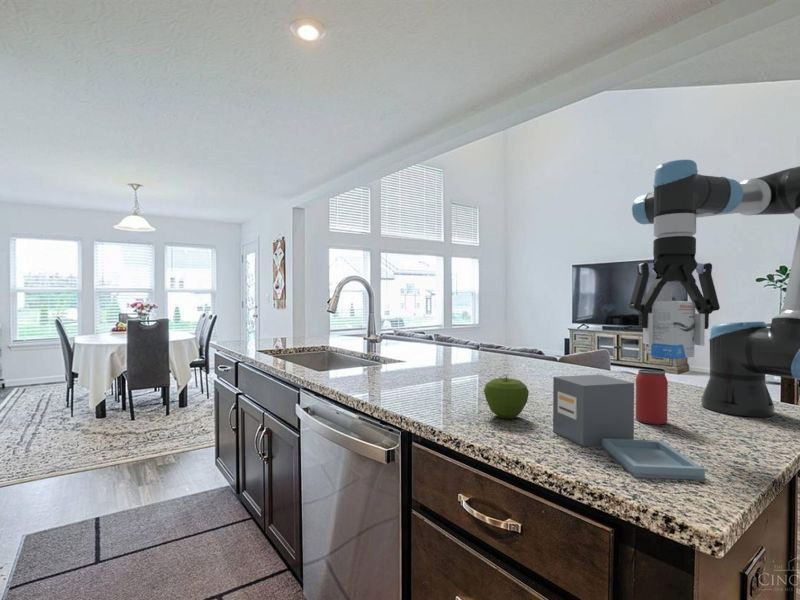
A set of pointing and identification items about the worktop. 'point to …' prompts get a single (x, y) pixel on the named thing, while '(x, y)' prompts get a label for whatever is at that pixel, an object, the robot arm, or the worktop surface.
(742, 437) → the worktop surface
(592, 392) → the box
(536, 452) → the worktop surface
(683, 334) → the ink box
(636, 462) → the tray
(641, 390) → the beer can
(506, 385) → the apple
